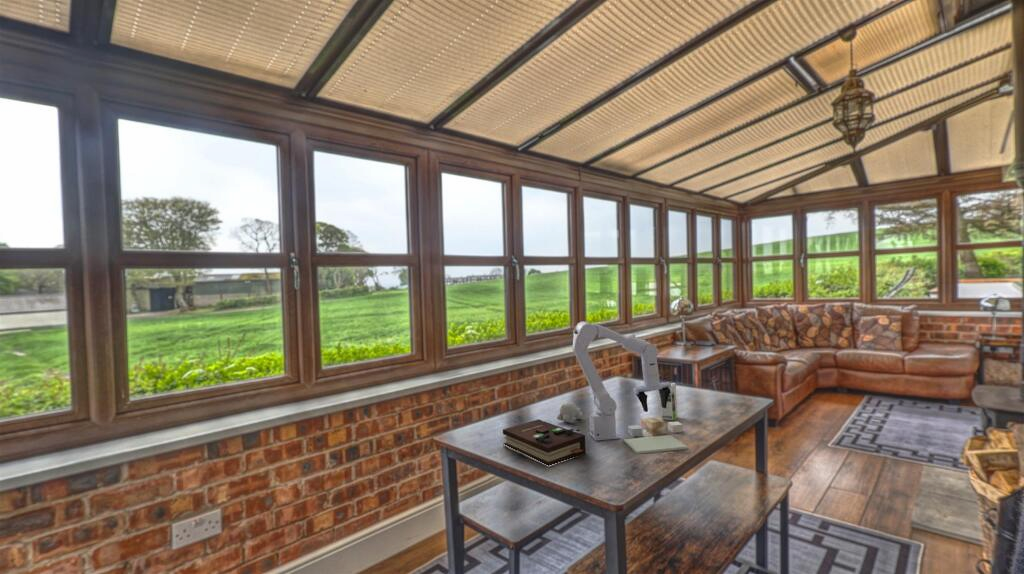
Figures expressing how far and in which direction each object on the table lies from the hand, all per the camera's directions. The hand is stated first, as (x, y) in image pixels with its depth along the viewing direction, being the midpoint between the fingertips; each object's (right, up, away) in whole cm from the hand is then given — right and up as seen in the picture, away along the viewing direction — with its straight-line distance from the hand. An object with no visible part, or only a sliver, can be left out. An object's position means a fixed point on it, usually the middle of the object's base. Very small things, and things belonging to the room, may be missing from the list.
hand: (654, 409), depth 171 cm
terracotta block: (-1, -9, +6) cm, 11 cm away
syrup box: (+11, -8, +16) cm, 22 cm away
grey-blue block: (-8, -9, -1) cm, 12 cm away
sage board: (-4, -9, -13) cm, 16 cm away
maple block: (0, -9, 0) cm, 9 cm away
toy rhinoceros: (-29, -10, +18) cm, 36 cm away
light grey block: (+8, -9, +1) cm, 12 cm away
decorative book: (-43, -12, -12) cm, 46 cm away
